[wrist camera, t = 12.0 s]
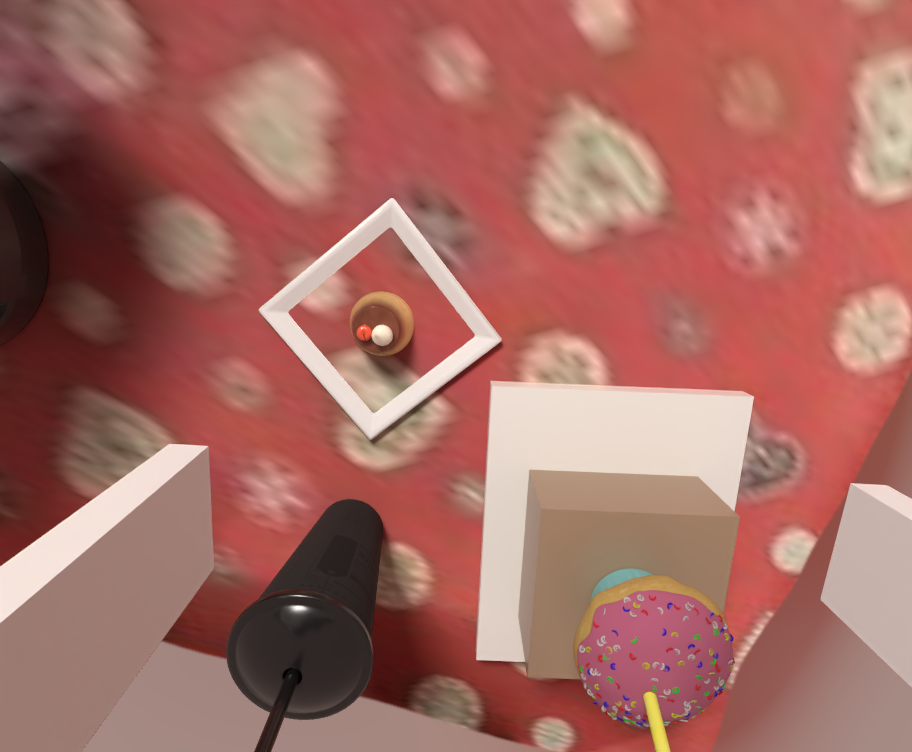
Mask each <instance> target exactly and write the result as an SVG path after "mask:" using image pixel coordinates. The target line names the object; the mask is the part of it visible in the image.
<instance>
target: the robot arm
mask: <svg viewBox="0 0 912 752" xmlns="http://www.w3.org/2000/svg"><path fill="white" fill-rule="evenodd" d="M47 274H48V252H47V245H46V239H45V235H44V231H43V227H42V224H41V221H40V219H39V216H38V214H37V211H36V209H35V207H34V205H33V203H32V201H31V199H30V198H29V196H28V194H27V193H26V191H25V190H24V188H23V187H22V185H21V184H20V182H19V181H18V180H17V179H16V177H15V176H14V175H13V174H12V173H11V172H10V170H9V169H8V168H7V167H6V166H5V165H4V164H3V163H2V162H1V161H0V344H2V343H4V342H6V341H8V340H9V339H11V338H12V337H14V336H15V335H16V334H17V333H19V332H20V331H21V330H22V329H23V328H24V327H25V326H26V324H27V323H28V322H29V321H30V319H31V318H32V317H33V315H34V314H35V312H36V310H37V308H38V306H39V304H40V302H41V299H42V297H43V294H44V290H45V286H46V282H47ZM213 569H214V559H213V536H212V514H211V491H210V469H209V446H198V445H181V444H169V445H167V446H166V447H165V448H163V449H162V450H161V451H159V452H158V453H156V454H155V455H154V456H152V457H151V458H149V459H148V460H147V461H145V462H144V463H143V464H141V465H140V466H138V467H137V468H136V469H134V470H133V471H132V472H130V473H129V474H127V475H126V476H125V477H123V478H122V479H120V480H119V481H118V482H116V483H115V484H114V485H112V486H111V487H109V488H108V489H107V490H105V491H104V492H102V493H101V494H100V495H98V496H97V497H96V498H94V499H93V500H91V501H90V502H89V503H87V504H86V505H85V506H83V507H82V508H80V509H79V510H78V511H76V512H75V513H73V514H72V515H71V516H69V517H68V518H67V519H65V520H64V521H62V522H61V523H60V524H58V525H57V526H56V527H54V528H53V529H51V530H50V531H49V532H47V533H46V534H44V535H43V536H42V537H40V538H39V539H38V540H36V541H35V542H33V543H32V544H31V545H29V546H28V547H26V548H25V549H24V550H22V551H21V552H20V553H18V554H17V555H15V556H14V557H13V558H11V559H10V560H9V561H7V562H6V563H4V564H3V565H2V566H0V752H82V751H83V749H84V748H85V747H86V745H87V744H88V742H89V741H90V739H91V738H92V737H93V735H94V734H95V733H96V731H97V730H98V728H99V727H100V726H101V724H102V723H103V721H104V720H105V719H106V717H107V716H108V715H109V713H110V712H111V710H112V709H113V708H114V706H115V705H116V703H117V702H118V701H119V699H120V698H121V697H122V695H123V694H124V692H125V691H126V690H127V688H128V687H129V685H130V684H131V683H132V681H133V680H134V678H135V677H136V676H137V674H138V673H139V672H140V670H141V669H142V667H143V666H144V665H145V663H146V662H147V660H148V659H149V658H150V656H151V655H152V653H153V652H154V651H155V649H156V648H157V646H158V645H159V644H160V642H161V641H162V640H163V638H164V637H165V635H166V634H167V633H168V631H169V630H170V628H171V627H172V626H173V624H174V623H175V622H176V620H177V619H178V617H179V616H180V615H181V613H182V612H183V610H184V609H185V608H186V606H187V605H188V604H189V602H190V601H191V599H192V598H193V597H194V595H195V594H196V592H197V591H198V590H199V588H200V587H201V585H202V584H203V583H204V581H205V580H206V579H207V577H208V576H209V574H210V573H211V572H212V570H213ZM821 601H823V603H825V604H826V605H827V606H828V607H829V608H830V609H831V610H832V611H833V612H834V613H835V614H836V615H837V616H838V617H839V618H840V619H841V620H842V621H843V622H844V623H845V624H846V625H847V626H848V627H849V628H851V629H852V630H853V631H854V632H855V633H856V634H857V635H858V636H859V637H860V638H861V639H862V640H863V641H864V642H865V643H866V644H867V645H868V646H869V647H870V648H871V649H872V650H873V651H874V652H875V653H876V654H877V655H878V656H879V657H881V658H882V659H883V660H884V661H885V662H886V663H887V664H888V665H889V666H890V667H891V668H892V669H893V670H894V671H895V672H896V673H897V674H898V675H899V676H900V677H901V678H903V680H904V681H905V682H906V683H908V684H909V685H910V686H911V687H912V499H910V498H909V497H907V496H905V495H903V494H901V493H899V492H898V491H896V490H894V489H892V488H891V487H889V486H887V485H871V484H854V483H851V484H850V488H849V492H848V496H847V500H846V504H845V507H844V511H843V515H842V519H841V523H840V526H839V530H838V534H837V538H836V542H835V546H834V549H833V554H832V557H831V561H830V565H829V569H828V573H827V576H826V580H825V584H824V588H823V592H822V595H821Z"/></svg>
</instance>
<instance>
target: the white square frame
mask: <svg viewBox="0 0 912 752" xmlns="http://www.w3.org/2000/svg"><path fill="white" fill-rule="evenodd" d="M390 227H391V228H393V229H394V231H395V232H396V233H397V234H398V236H399V237H400V238H401V240H402V241H403V242H404V244H405V245H406V246H407V247H408V249H409V250H410V251H411V253H412V254H413V255H414V256H415V258H416V259H417V260H418V262H419V263H420V264H421V265H422V267H423V268H424V269H425V271H426V272H427V273H428V274H429V276H430V277H431V278H432V280H433V281H434V282H435V283H436V285H437V286H438V287H439V289H440V290H441V291H442V292H443V294H444V295H445V296H446V298H447V299H448V300H449V301H450V303H451V304H452V305H453V307H454V308H455V309H456V310H457V312H458V313H459V314H460V316H461V317H462V318H463V319H464V321H465V322H466V323H467V325H468V326H469V327H470V328H471V330H472V331H473V332H474V334H475V336H474V338H473V339H471V340H470V341H469V342H467V343H466V344H465V345H463V346H462V347H461V348H459V349H458V350H457V351H456V352H454V353H453V354H452V355H450V356H449V357H448V358H446V359H445V360H444V361H443V362H441V363H440V364H439V365H437V366H436V367H435V368H433V369H432V370H431V371H429V372H428V373H427V374H426V375H424V376H423V377H422V378H420V379H419V380H418V381H416V382H415V383H414V384H412V385H411V386H410V387H409V388H407V389H406V390H405V391H403V392H402V393H401V394H399V395H398V396H397V397H395V398H394V399H393V400H392V401H390V402H389V403H388V404H386V405H385V406H384V407H382V408H381V409H380V410H378V411H377V412H376V413H372V412H371V411H370V409H369V408H368V407H367V406H366V405H365V404H364V402H363V401H362V400H361V399H360V398H359V397H358V395H357V394H356V393H355V392H354V391H353V389H352V388H351V387H350V386H349V385H348V384H347V382H346V381H345V380H344V379H343V378H342V377H341V375H340V374H339V373H338V372H337V371H336V369H335V368H334V367H333V366H332V365H331V364H330V362H329V361H328V360H327V359H326V358H325V357H324V355H323V354H322V353H321V352H320V351H319V350H318V348H317V347H316V346H315V345H314V344H313V342H312V341H311V340H310V339H309V338H308V337H307V335H306V334H305V333H304V332H303V331H302V330H301V328H300V327H299V326H298V325H297V324H296V322H295V321H294V320H293V319H292V318H291V317H290V315H289V314H288V312H289V310H290V309H292V308H293V307H294V306H295V305H296V304H298V303H299V302H300V301H301V300H302V299H304V298H305V297H306V296H307V295H308V294H310V293H311V292H312V291H313V290H314V289H316V288H317V287H318V286H319V285H320V284H322V283H323V282H324V281H325V280H327V279H328V278H329V277H330V276H331V275H333V274H334V273H335V272H336V271H337V270H339V269H340V268H341V267H342V266H343V265H345V264H346V263H347V262H348V261H349V260H351V259H352V258H353V257H354V256H355V255H357V254H358V253H359V252H360V251H361V250H363V249H364V248H365V247H366V246H367V245H369V244H370V243H371V242H372V241H373V240H375V239H376V238H377V237H378V236H380V235H381V234H382V233H383V232H384V231H386V230H387V229H388V228H390ZM259 312H260V313H261V315H262V316H263V317H264V318H265V319H266V320H267V322H268V323H269V324H270V325H271V326H272V327H273V329H274V330H275V331H276V332H277V333H278V334H279V336H280V337H281V338H282V339H283V340H284V341H285V342H286V344H287V345H288V346H289V347H290V348H291V349H292V351H293V352H294V353H295V354H296V355H297V356H298V358H299V359H300V360H301V361H302V362H303V363H304V365H305V366H306V367H307V368H308V369H309V370H310V372H311V373H312V374H313V375H314V376H315V377H316V379H317V380H318V381H319V382H320V383H321V384H322V386H323V387H324V388H325V389H326V390H327V391H328V393H329V394H330V395H331V396H332V397H333V398H334V400H335V401H336V402H337V403H338V404H339V405H340V407H341V408H342V409H343V410H344V411H345V412H346V414H347V415H348V416H349V417H350V418H351V419H352V421H353V422H354V423H355V424H356V425H357V426H358V427H359V429H360V430H361V431H362V432H363V433H364V434H365V436H366V437H367V438H368V439H369V440H372V439H373V438H375V437H376V436H377V435H379V434H380V433H381V432H383V431H384V430H385V429H387V428H388V427H389V426H391V425H392V424H393V423H394V422H396V421H397V420H398V419H400V418H401V417H402V416H404V415H405V414H406V413H408V412H409V411H410V410H412V409H413V408H414V407H416V406H417V405H418V404H420V403H421V402H422V401H423V400H425V399H426V398H427V397H429V396H430V395H431V394H433V393H434V392H435V391H437V390H438V389H439V388H441V387H442V386H443V385H445V384H446V383H447V382H449V381H450V380H451V379H452V378H454V377H455V376H456V375H458V374H459V373H460V372H462V371H463V370H464V369H466V368H467V367H468V366H470V365H471V364H472V363H474V362H475V361H476V360H478V359H479V358H480V357H481V356H483V355H484V354H485V353H487V352H488V351H489V350H491V349H492V348H493V347H495V346H496V345H497V344H499V343H500V342H501V341H502V338H501V337H500V336H499V335H498V333H497V332H496V331H495V329H494V328H493V327H492V325H491V324H490V323H489V322H488V320H487V319H486V318H485V316H484V315H483V314H482V312H481V311H480V310H479V309H478V307H477V306H476V305H475V303H474V302H473V301H472V299H471V298H470V297H469V296H468V294H467V293H466V292H465V290H464V289H463V288H462V286H461V285H460V284H459V283H458V281H457V280H456V279H455V277H454V276H453V275H452V273H451V272H450V271H449V270H448V268H447V267H446V266H445V264H444V263H443V262H442V260H441V259H440V258H439V257H438V255H437V254H436V253H435V251H434V250H433V249H432V247H431V246H430V245H429V244H428V242H427V241H426V240H425V238H424V237H423V236H422V234H421V233H420V232H419V231H418V229H417V228H416V227H415V225H414V224H413V223H412V221H411V220H410V219H409V218H408V216H407V215H406V214H405V212H404V211H403V210H402V208H401V207H400V206H399V205H398V203H397V202H396V201H395V199H393V198H391V199H389V200H388V201H387V202H386V203H385V204H383V205H382V206H381V207H380V208H379V209H377V210H376V211H375V212H374V213H373V214H371V215H370V216H369V217H368V218H367V219H365V220H364V221H363V222H362V223H361V224H360V225H358V226H357V227H356V228H355V229H354V230H352V231H351V232H350V233H349V234H348V235H346V236H345V237H344V238H343V239H342V240H340V241H339V242H338V243H337V244H336V245H334V246H333V247H332V248H331V249H330V250H328V251H327V252H326V253H325V254H324V255H323V256H321V257H320V258H319V259H318V260H317V261H315V262H314V263H313V264H312V265H311V266H309V267H308V268H307V269H306V270H305V271H303V272H302V273H301V274H300V275H299V276H297V277H296V278H295V279H294V280H293V281H292V282H290V283H289V284H288V285H287V286H286V287H284V288H283V289H282V290H281V291H280V292H278V293H277V294H276V295H275V296H274V297H272V298H271V299H270V300H269V301H268V302H266V303H265V304H264V305H263V306H262V307H261V308H259ZM350 331H351V334H352V336H353V338H354V340H355V341H356V343H357V344H358V345H359V346H360V347H361V348H362V349H363V350H365V351H366V352H368V353H371V354H373V355H378V356H388V355H392V354H395V353H397V352H399V351H401V350H402V349H403V348H404V347H405V346H406V345H407V344H408V343H409V341H410V340H411V338H412V335H413V332H414V318H413V314H412V312H411V310H410V308H409V306H408V305H407V304H406V302H405V301H404V300H403V299H401V298H400V297H398V296H397V295H395V294H392V293H389V292H383V291H378V292H373V293H369V294H367V295H365V296H364V297H362V298H361V299H360V300H359V301H358V302H357V303H356V304H355V306H354V307H353V309H352V312H351V315H350Z"/></svg>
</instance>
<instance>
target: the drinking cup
mask: <svg viewBox="0 0 912 752" xmlns="http://www.w3.org/2000/svg"><path fill="white" fill-rule="evenodd" d="M382 536H383V524H382V521H381V518H380V516H379V515H378V513H377V512H376V511H375V510H374V509H373V508H372V507H371V506H370V505H368V504H366V503H364V502H362V501H358V500H351V499H349V500H342V501H338V502H336V503H334V504H332V505H331V506H330V507H328V508H327V510H326V511H325V512H324V513H323V515H322V516H321V517H320V519H319V520H318V521H317V523H316V524H315V525H314V526H313V528H312V529H311V530H310V532H309V533H308V534H307V536H306V537H305V538H304V540H303V541H302V542H301V544H300V545H299V546H298V548H297V549H296V550H295V552H294V553H293V554H292V555H291V557H290V558H289V559H288V561H287V562H286V563H285V565H284V566H283V567H282V569H281V570H280V571H279V573H278V574H277V575H276V577H275V578H274V579H273V580H272V582H271V583H270V584H269V586H268V587H267V588H266V590H265V591H264V592H263V594H262V595H261V596H260V598H259V599H258V600H256V601H255V602H253V603H252V604H251V605H249V606H248V607H247V608H246V609H245V610H244V611H243V612H242V613H241V615H240V616H239V617H238V619H237V620H236V622H235V623H234V625H233V627H232V629H231V631H230V634H229V637H228V641H227V651H226V655H227V663H228V668H229V671H230V674H231V676H232V678H233V680H234V682H235V683H236V685H237V686H238V688H239V689H240V690H241V692H242V693H243V694H244V695H245V696H246V697H247V698H248V699H249V700H251V701H252V702H253V703H254V704H256V705H257V706H259V707H260V708H262V709H264V710H266V711H268V712H270V714H269V717H268V719H267V722H266V724H265V727H264V729H263V731H262V734H261V736H260V739H259V741H258V744H257V746H256V749H255V751H254V752H271V751H272V748H273V746H274V743H275V740H276V738H277V735H278V733H279V730H280V727H281V725H282V722H283V719H284V717H285V718H290V719H299V720H309V719H319V718H324V717H328V716H331V715H333V714H336V713H338V712H340V711H342V710H344V709H345V708H347V707H348V706H350V705H351V704H352V703H353V702H354V701H355V700H356V699H357V698H358V697H359V696H360V695H361V694H362V692H363V691H364V689H365V688H366V686H367V684H368V682H369V680H370V677H371V673H372V669H373V662H374V651H373V645H372V641H371V637H372V628H373V619H374V610H375V600H376V591H377V582H378V573H379V563H380V554H381V545H382Z"/></svg>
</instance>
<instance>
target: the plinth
mask: <svg viewBox="0 0 912 752" xmlns="http://www.w3.org/2000/svg"><path fill="white" fill-rule="evenodd" d="M753 400H754V397H753V396H751V395H749V394H747V393H745V392H743V391H725V390H701V389H676V388H652V387H627V386H602V385H578V384H553V383H529V382H504V381H490V399H489V417H488V435H487V453H486V471H485V489H484V507H483V525H482V543H481V562H480V580H479V598H478V616H477V634H476V660H489V661H513V662H525V664H526V671H527V677H535V678H559V679H580V677H579V674H578V672H577V669H576V665H575V661H574V654H573V645H574V638H575V634H576V631H577V629H578V626H579V624H580V621H581V619H582V617H583V615H584V614H585V612H586V610H587V608H588V606H589V604H590V599H591V595H592V593H593V590H594V588H595V587H596V585H597V584H598V583H599V582H600V581H601V580H602V579H603V578H604V577H605V576H607V575H608V574H610V573H612V572H615V571H617V570H621V569H629V568H632V569H640V570H644V571H646V572H649V573H651V574H652V575H664V576H669V577H671V578H673V579H674V580H676V581H678V582H680V583H682V584H684V585H688V586H691V587H693V588H695V589H697V590H699V591H700V592H702V593H703V594H705V595H707V596H708V597H710V598H711V599H712V600H713V601H714V602H715V603H716V605H717V606H718V607H719V609H720V610H721V612H722V614H723V612H724V606H725V601H726V595H727V589H728V583H729V578H730V572H731V566H732V560H733V555H734V549H735V543H736V537H737V531H738V526H739V520H740V516H738V515H737V514H736V513H735V512H734V511H735V505H736V499H737V493H738V488H739V482H740V476H741V470H742V464H743V458H744V452H745V446H746V441H747V435H748V429H749V423H750V417H751V411H752V405H753Z"/></svg>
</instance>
